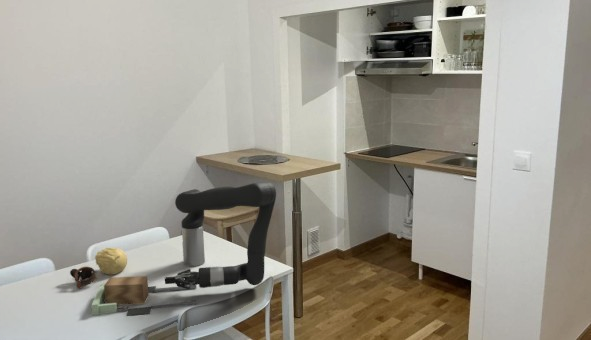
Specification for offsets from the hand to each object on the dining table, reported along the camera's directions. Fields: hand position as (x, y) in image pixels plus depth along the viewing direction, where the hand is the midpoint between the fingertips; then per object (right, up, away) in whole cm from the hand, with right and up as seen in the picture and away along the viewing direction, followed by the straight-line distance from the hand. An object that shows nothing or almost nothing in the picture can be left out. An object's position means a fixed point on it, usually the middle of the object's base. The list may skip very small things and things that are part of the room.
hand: (165, 280), depth 182 cm
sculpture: (-29, -2, +26) cm, 39 cm away
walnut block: (-14, -8, 0) cm, 16 cm away
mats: (-9, -7, 0) cm, 11 cm away
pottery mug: (-37, -5, +15) cm, 40 cm away
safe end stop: (-20, -8, -2) cm, 22 cm away
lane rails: (-3, -7, +1) cm, 8 cm away
